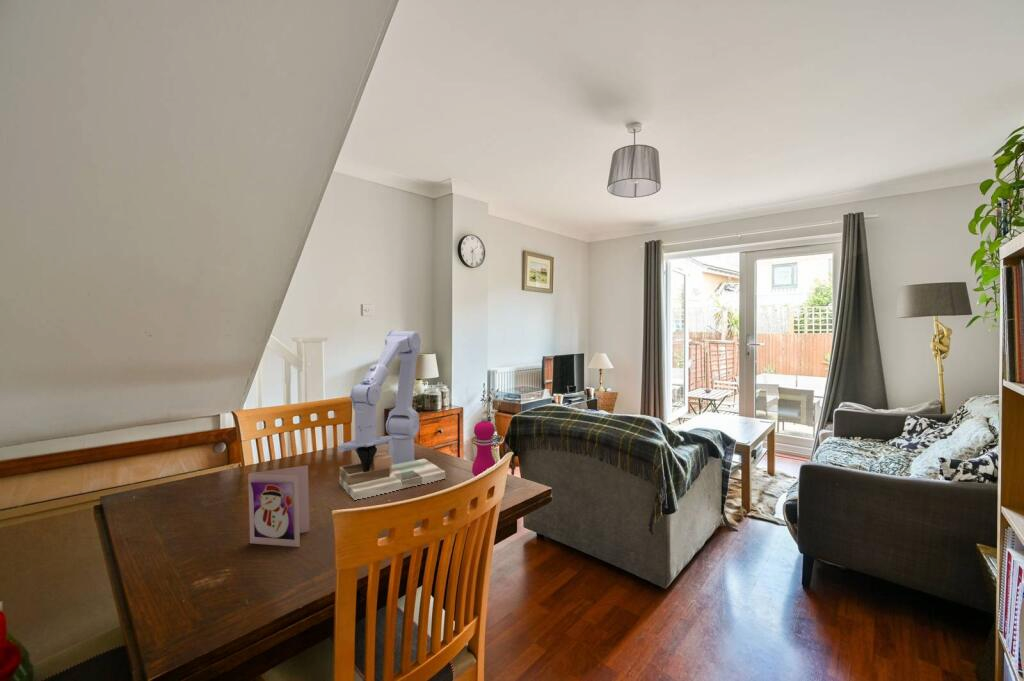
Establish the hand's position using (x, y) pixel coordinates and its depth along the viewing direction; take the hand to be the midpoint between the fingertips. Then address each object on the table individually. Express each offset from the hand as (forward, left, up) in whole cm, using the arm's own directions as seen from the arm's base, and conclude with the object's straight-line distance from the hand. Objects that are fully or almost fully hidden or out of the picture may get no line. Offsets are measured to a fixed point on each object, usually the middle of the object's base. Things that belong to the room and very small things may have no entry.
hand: (366, 472), depth 125 cm
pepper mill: (+20, +28, -4) cm, 35 cm away
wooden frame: (0, -1, -1) cm, 1 cm away
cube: (0, +4, -1) cm, 4 cm away
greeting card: (+21, -24, -4) cm, 32 cm away
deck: (+3, +7, -3) cm, 8 cm away
